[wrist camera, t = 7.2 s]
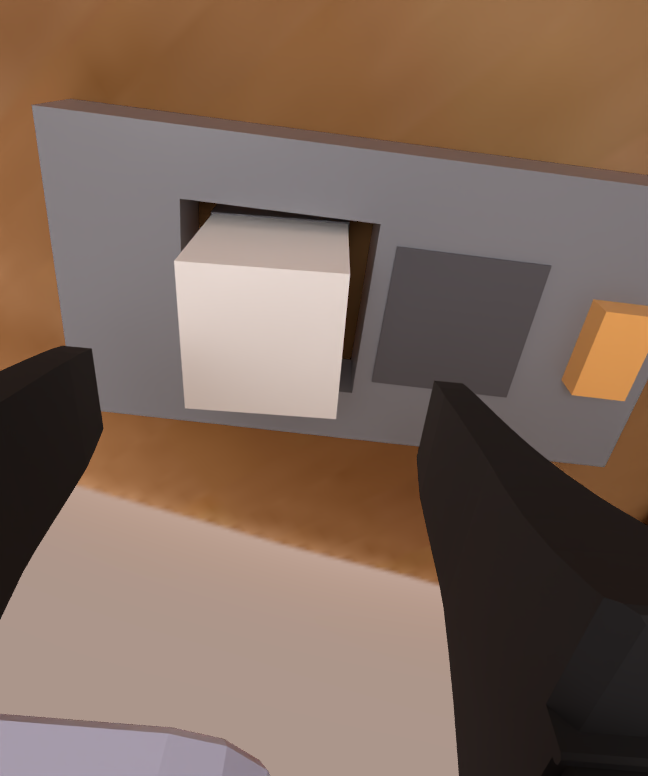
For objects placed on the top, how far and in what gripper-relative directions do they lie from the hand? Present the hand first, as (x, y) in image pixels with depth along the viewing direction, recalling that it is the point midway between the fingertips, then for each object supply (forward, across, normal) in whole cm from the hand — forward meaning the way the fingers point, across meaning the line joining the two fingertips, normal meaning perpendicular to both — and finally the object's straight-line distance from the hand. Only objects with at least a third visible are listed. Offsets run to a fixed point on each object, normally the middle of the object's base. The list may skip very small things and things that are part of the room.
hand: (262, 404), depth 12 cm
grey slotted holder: (+9, -2, +1) cm, 10 cm away
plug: (+9, 0, 0) cm, 9 cm away
